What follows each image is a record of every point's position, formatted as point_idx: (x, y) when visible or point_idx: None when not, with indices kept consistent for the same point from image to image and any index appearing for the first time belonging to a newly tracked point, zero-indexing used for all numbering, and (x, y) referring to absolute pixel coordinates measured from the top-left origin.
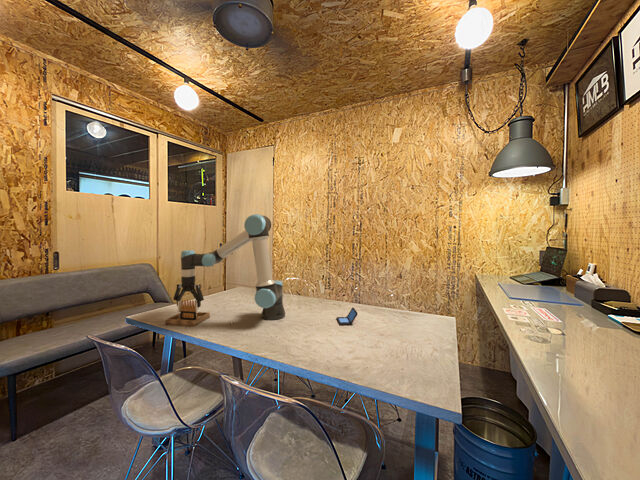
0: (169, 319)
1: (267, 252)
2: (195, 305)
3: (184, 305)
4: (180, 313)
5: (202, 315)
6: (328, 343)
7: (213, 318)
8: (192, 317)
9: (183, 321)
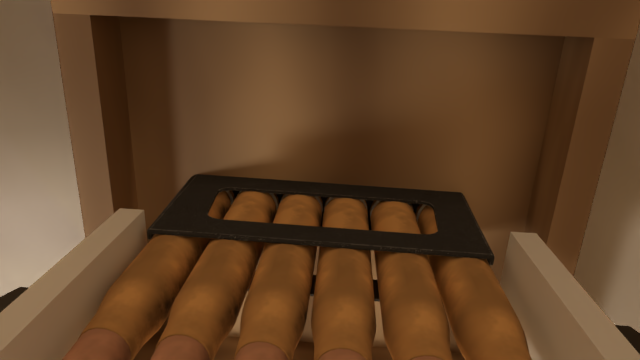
0: (574, 17)
1: None
2: (94, 320)
3: (420, 333)
4: (478, 232)
5: None
6: None
7: None
8: (246, 194)
9: None
